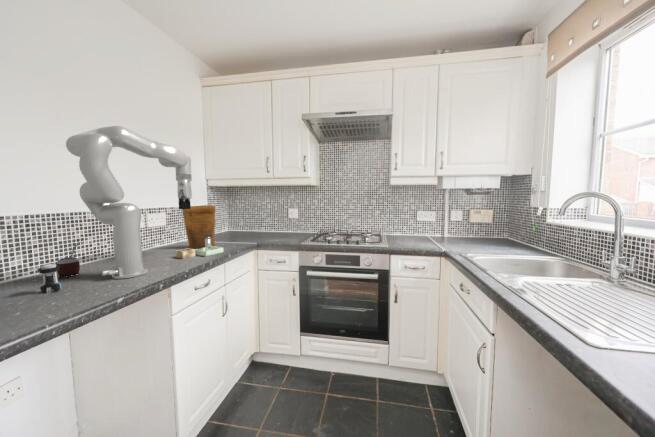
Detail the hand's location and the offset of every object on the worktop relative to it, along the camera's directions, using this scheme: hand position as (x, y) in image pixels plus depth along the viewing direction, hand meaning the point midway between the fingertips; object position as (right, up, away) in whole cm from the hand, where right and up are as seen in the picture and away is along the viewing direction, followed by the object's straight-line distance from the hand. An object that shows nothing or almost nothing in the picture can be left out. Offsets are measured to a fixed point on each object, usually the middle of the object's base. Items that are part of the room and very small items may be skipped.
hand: (184, 209), depth 141 cm
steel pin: (+9, -26, +9) cm, 29 cm away
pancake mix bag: (-4, -25, +27) cm, 37 cm away
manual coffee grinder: (-33, -31, -30) cm, 54 cm away
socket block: (-1, -27, +2) cm, 27 cm away
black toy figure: (-23, -32, -48) cm, 62 cm away
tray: (+9, -26, +10) cm, 29 cm away
